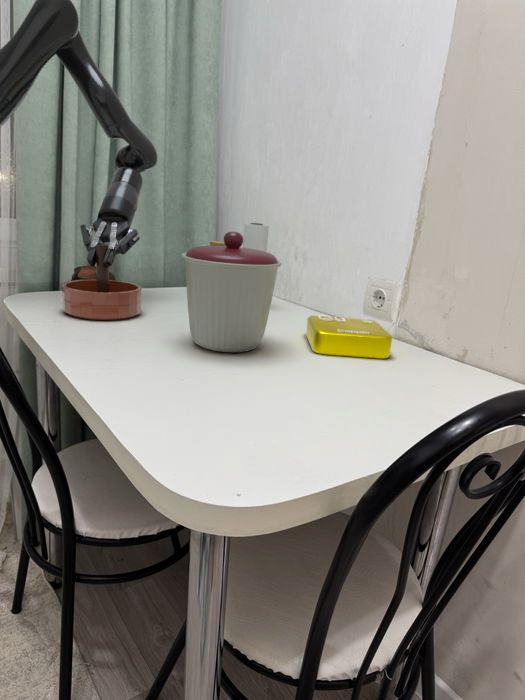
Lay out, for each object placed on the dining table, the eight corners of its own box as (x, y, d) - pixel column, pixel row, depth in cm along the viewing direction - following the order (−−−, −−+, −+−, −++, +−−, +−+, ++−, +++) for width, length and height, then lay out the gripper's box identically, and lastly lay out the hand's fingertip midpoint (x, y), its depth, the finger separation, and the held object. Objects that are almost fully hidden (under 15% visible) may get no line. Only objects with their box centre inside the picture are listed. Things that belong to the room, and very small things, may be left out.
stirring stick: (89, 309, 111) (86, 244, 108) (98, 305, 116) (96, 243, 112) (109, 311, 111) (108, 246, 107) (118, 307, 116) (116, 244, 112)
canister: (280, 339, 103) (290, 234, 97) (264, 365, 86) (276, 239, 80) (194, 328, 106) (199, 225, 100) (163, 351, 88) (167, 228, 83)
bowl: (48, 316, 105) (47, 287, 103) (83, 302, 121) (83, 277, 119) (125, 324, 104) (125, 295, 102) (150, 309, 120) (150, 284, 118)
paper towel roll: (248, 310, 129) (255, 224, 123) (233, 305, 133) (239, 221, 127) (269, 308, 133) (277, 225, 127) (254, 303, 138) (261, 223, 132)
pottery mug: (63, 297, 126) (63, 266, 128) (83, 307, 136) (82, 278, 137) (108, 289, 125) (107, 258, 126) (125, 300, 134) (123, 271, 136)
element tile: (313, 354, 95) (316, 329, 94) (304, 334, 109) (307, 312, 108) (391, 360, 96) (395, 335, 94) (372, 339, 110) (376, 318, 109)
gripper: (85, 191, 114) (61, 250, 106) (145, 196, 113) (125, 256, 105) (95, 215, 121) (73, 273, 113) (152, 220, 120) (134, 278, 112)
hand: (98, 264), depth 109 cm, fingers closed on stirring stick, 2 cm apart
